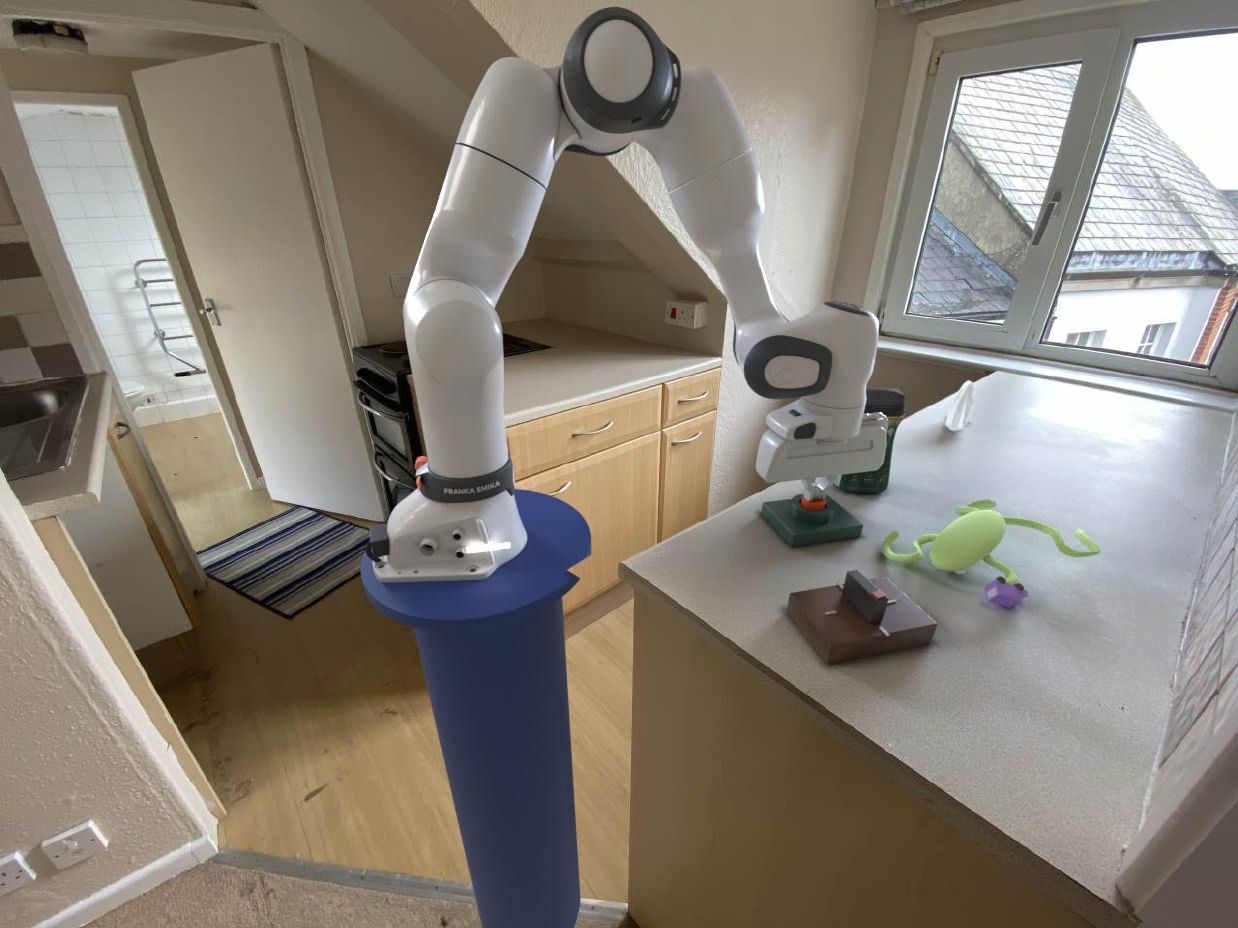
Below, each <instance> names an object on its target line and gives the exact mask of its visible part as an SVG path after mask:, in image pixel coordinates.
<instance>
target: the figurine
mask: <svg viewBox="0 0 1238 928" xmlns="http://www.w3.org/2000/svg"><path fill="white" fill-rule="evenodd" d="M996 506H997V502H996V501H995V500H992V499H981V500H976V501H973V502H971V503H970V504H967V505H959V506H957V507H956V508H955V512H956V514H958V515H961V516H959V517H957V518H956V519H954V520H953V521H952V522H950V523H949V524H948V525H946V527H944V528H943V529H942V531H940V532H939V533H926V534H924V535H921V536H919V537H917V538H916V539H915V540H914V541H912V546H913V547H914V548H915V549H916V551H914V552H913V553H909V554H898V553H895V552H893V551H892V550H891V547H892V544H893V543H894V541H895V540H896V539H897V538H898V537H899V535H900V533H899V532H898V531H893V530H892V531H891V532H890V533H889V534H888V535H887V536H886V537H885V539H884V540H883V542H882V546H881V552H882V554H883V556H884V557H885V558H887V560H889V561H891V562H893V563H901V564H912V563H915V562H918V561H920V560H922V559H923V558H924V554H923V552H922V549H921V548H922V546H924V545H925V544H927V543H930V542H932V543H931V545H930V549H929V554H928V557H929V560H930V562H931V565H932V566H933V567H934V568H936V569H937V570H940V571H944V572H954V573H955V574H958V575H959V576H963V575H964V574H965V573H966V572H967V568H969V567H971V566H975V565H976V564H977V563H979V562H980V561H983V562H984V563H986V564H987V565H989V566H991V567H993V568H995V569H997V570H999V571H1000V572H1003V573H1004V575H1005V577H1003V576H997V577H996V578H995V580H994V581H992V582H990V583H988V584H987V585H986V584H984V585H983V588H984V593H985V596H986V601H987V602H989V603H992V604H995V605H998V606H1001V607H1005V608H1011V607H1014V606H1016V605H1019V604H1020V603H1021V602H1022V600H1023V599H1025V598H1026V597H1029V593H1028V590H1025V587H1024V585H1023V584H1021V583H1020V582H1018V577H1017V574H1016V571H1015V570H1013V569H1012V568H1010V567H1009V566H1008V565H1005V564H1004V563H1003V562H1001V561H999V560H997V559H996V558H994V557H993V556H992V555H991V554H992V552H993V551H994V550H995V549H996V548H997V547H998V546H999V545H1000V543H1001V542H1002V540H1003V538H1004V535H1005V534H1006V529H1007V528H1006V527H1007V525H1010V526H1018V527H1025V528H1030V529H1034V530H1036V531H1040V532H1042V533H1043V534H1044V533H1045V534H1046V535H1049V536H1050V537H1051V539H1052V540H1053V542H1054V544H1055V547H1056V548H1057V550H1058V552H1060V553H1062V554H1063V555H1065V556H1068V557H1072V558H1086V557H1093V556H1096V555H1099V554H1100V552H1101V550H1102V548H1101V547H1100V546H1099V545H1098V544H1097V543H1096V542H1095V541H1093V540H1092V539H1091V538H1090V537H1089V536H1088V535H1087V531H1086V530H1084V529H1082V528H1078V529H1076V530H1075V532H1074V533H1075V536H1076V538H1077V539H1078V540H1079V542H1081V543H1082V545H1084V546H1085V547H1086V548H1087V549H1088V551H1083V550H1078V549H1074V548H1072V547H1071V546H1068V545H1067V544H1066V542H1065V541H1064V539H1063V535H1062V534H1061V532H1060V531H1059V530H1057V528H1055V527H1053V526H1051V525H1048V524H1046V523H1043V522H1040V521H1036V520H1033V519H1029V518H1022V517H1015V516H1006V515H1005V516H1004V515H1002V514H1001V513H1000V512H998V511H996V510H992V508H995V507H996Z"/></svg>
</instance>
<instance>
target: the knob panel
mask: <svg viewBox="0 0 1238 928" xmlns="http://www.w3.org/2000/svg"><path fill="white" fill-rule="evenodd" d="M868 579H869V578H868ZM869 580H870V581H871V582H872V583H873V584H874V585H875V586H876V587H877V588H878V589H879V590H880V591H882V592H883V593H884V594H885V595H887V597H888V603H887V606H886V610H885V613H884V617H883V620H882V622H878V623H873V624H870V623H869V622H868V621H867V620H866V619H865V618H864V617H863V616H862V615H861V613H860V612H859V611H858V610H857V609H856V608H855V607H854V606H853V605H852V604H851V603H850V602H849V601H848V600H847V599H846V598H845V597H844V596H843V595H842V591H843V587H844V583H841V582H840V581H836V582H835V583H836V584H835V585H829V586H824V587H818V588H811V589H806V590H805V589H804V590H801V591H793V592H790V593H789V597H788V602H787V606H786V607H787V608H786V613H787V614H788V615H789V616H790V618H791V620H793V622H795V624H796V626H797V627H798V628H799V630H800V631H801V632H802V634H803V635H804V636H805V638H806V639H807V640H808V642H809V643H810V644H811V645H812V646H813V648H814V649H815V651H816V652H817V653H818V655H819V656H820V657H821V658H822V660H823V661H824V662H825V664H826V665H830V664H836V663H840V662H845V661H849V660H854V659H859V658H864V657H869V656H874V655H878V654H883V653H889V652H892V651H898V650H902V649H907V648H908V649H909V648H912V647H917V646H921V645H926V644H930V643H932V641H933V638H934V636H935V633H936V630H937V628H938V622H936V621H935V620H934V619H933V618H932V616H930V615H929V614H928V613H926V612H925V611H924V610H923V609H922V608H921V607H920V606H919V605H918V604H917V603H915V601H914V600H912V599H911V598H910V597H909V596H908V595H907V594H906V593H905V592H903V591H902V589H900V588H899V587H898V586H897V585H896V584H895V583H894V582H893V581H892V580H890V579H889V578H888V576H880V577H876V578H870V579H869Z"/></svg>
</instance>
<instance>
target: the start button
mask: <svg viewBox="0 0 1238 928" xmlns="http://www.w3.org/2000/svg"><path fill="white" fill-rule="evenodd" d="M825 503H826V500H825V499H821V500H814V501H807V500H806V499H805V498H804V496H802V500H801V505H802V506H803V507H805V508H807V509H809V510H816V511H818V510H824V508H825Z"/></svg>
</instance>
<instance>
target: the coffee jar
mask: <svg viewBox="0 0 1238 928" xmlns="http://www.w3.org/2000/svg"><path fill="white" fill-rule="evenodd" d="M866 398H867V399H866V405H865V409H864V413H867V414H870V413H874V412H880V413H882V414H883V415H885V416H886V417H887V419H888V421H889V424H888V428H887V432H886V436H887V438H886V451H885V457H884V462H883V464H882V466H881V467H880V468H879V469H878V470H875V471H867V472H859V473H851V474H843V475H837V477H836V481H835V482H834V483H833V484H832V485H833V486H835V487H836V488H838V489H839V490H841V491H844V492H848V493H857V494H879V493H883V492H885V491H886V490H887V489H888V487H889V481H890V474H891V467H892V465H891V464H892V457H893V450H894V442H895V437H896V433H897V430H898V428H899V426H900V425H901V423H902V422H903V420H904V418H905V414H906V404H907V403H906V402H907V398H906V395H905V394H904V393H903V392H902V391H901V390H900V389H898V388H895V387H894V388H887V387H886V388H885V387H866ZM882 418H883V417H882Z"/></svg>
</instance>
